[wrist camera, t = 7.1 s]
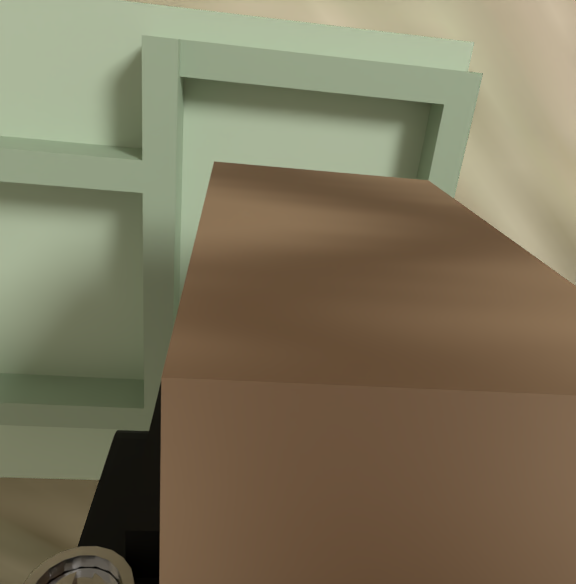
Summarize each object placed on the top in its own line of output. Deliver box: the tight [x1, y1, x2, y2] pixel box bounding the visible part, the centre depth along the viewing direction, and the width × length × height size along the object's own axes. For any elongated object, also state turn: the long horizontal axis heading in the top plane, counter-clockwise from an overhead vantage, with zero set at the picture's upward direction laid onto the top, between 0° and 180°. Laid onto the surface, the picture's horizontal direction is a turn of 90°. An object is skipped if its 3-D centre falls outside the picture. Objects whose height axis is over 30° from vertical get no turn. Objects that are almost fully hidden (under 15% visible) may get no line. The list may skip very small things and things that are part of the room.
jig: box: [0, 0, 483, 480], centre depth 16 cm, size 15×15×3 cm
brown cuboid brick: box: [159, 161, 576, 584], centre depth 9 cm, size 4×10×7 cm, turn 174°
